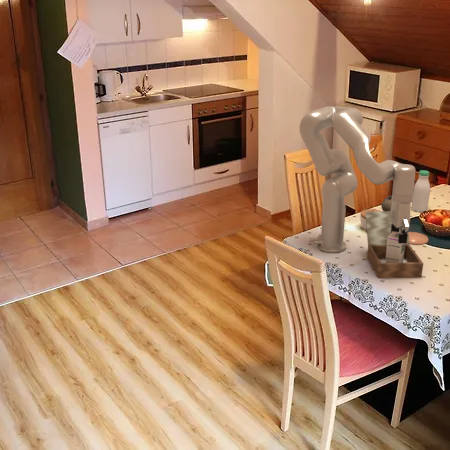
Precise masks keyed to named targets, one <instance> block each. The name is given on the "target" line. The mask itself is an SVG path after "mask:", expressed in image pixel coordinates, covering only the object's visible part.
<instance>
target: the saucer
mask: <svg viewBox="0 0 450 450" xmlns="http://www.w3.org/2000/svg"><path fill="white" fill-rule="evenodd" d="M408 232H409V245H412V246H413V245H414V246H422V245H426V244H428V242H429V238H428V236H427V235H425V234H423V233H421V232H416V231H408Z"/></svg>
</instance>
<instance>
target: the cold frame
mask: <svg viewBox="0 0 450 450" xmlns="http://www.w3.org/2000/svg"><path fill="white" fill-rule="evenodd" d="M390 212H391V211H383V210H382V212H366V225H367V230H366V237H367V253H366V259H367V261H368V263H369V264H370V266H371V268H372V270H373V272H374V274H375V276H376V277H377V279H393V278H394V279H399V278H401V279H402V278H406V279H407V278H422V276H423V271H424V270H423V269H424V262H423V261H422V259H421V258H420V257H419V256H418V254H417V253H416V251H415V250H414V249H413V247H412V246H411V244H409V232H410V231H408V237H407V243H405V249H404V258H403V260H404V259H405V260H406V261H407V262H403V263H385V262H381V260H385V259H386V249H387V239H388V236H389V234H391V224H393V223H392V222H391V221H390ZM401 226H404V225H401ZM403 229H404V228H402V231H403ZM399 232H400V229H399Z"/></svg>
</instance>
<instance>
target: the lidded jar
mask: <svg viewBox="0 0 450 450" xmlns="http://www.w3.org/2000/svg"><path fill="white" fill-rule="evenodd" d="M382 211H383V210H382ZM382 211H381V210H380V209H379V210H378V209H373V208H371V209H363V210H361V211H360V224H361V227H362V228H363V229H364V230H365V231H367V225H366V212H382Z"/></svg>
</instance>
